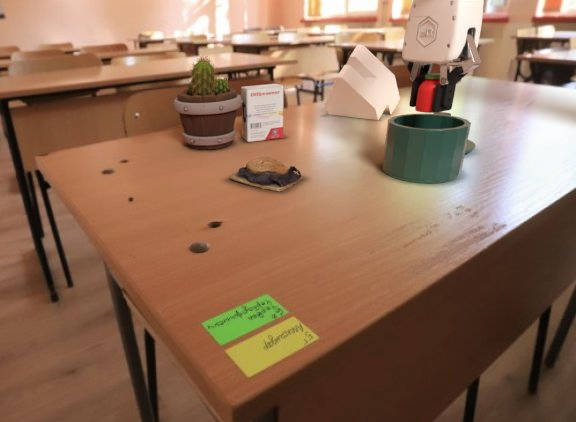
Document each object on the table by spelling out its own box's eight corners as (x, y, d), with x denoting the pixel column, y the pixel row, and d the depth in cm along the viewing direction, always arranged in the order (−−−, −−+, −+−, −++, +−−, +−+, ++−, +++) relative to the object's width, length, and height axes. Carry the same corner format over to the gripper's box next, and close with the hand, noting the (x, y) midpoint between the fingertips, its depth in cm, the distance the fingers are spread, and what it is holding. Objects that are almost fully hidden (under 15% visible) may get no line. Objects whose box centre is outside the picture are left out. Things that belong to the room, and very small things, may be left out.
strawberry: (440, 107, 68) (446, 72, 65) (445, 112, 64) (452, 75, 62) (413, 107, 69) (418, 72, 66) (417, 112, 65) (422, 76, 63)
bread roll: (226, 181, 73) (225, 161, 71) (255, 167, 78) (255, 148, 76) (279, 194, 66) (279, 171, 64) (306, 178, 71) (307, 157, 70)
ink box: (276, 133, 99) (277, 82, 94) (283, 138, 95) (284, 85, 90) (241, 137, 98) (240, 85, 93) (247, 142, 94) (246, 88, 89)
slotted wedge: (333, 124, 117) (314, 76, 105) (351, 95, 120) (334, 44, 107) (381, 131, 108) (366, 78, 95) (400, 99, 110) (388, 44, 98)
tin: (450, 161, 74) (459, 113, 70) (467, 185, 64) (479, 130, 60) (380, 159, 77) (385, 113, 74) (385, 181, 67) (392, 129, 64)
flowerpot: (187, 135, 103) (180, 49, 95) (248, 136, 99) (247, 45, 91) (167, 153, 90) (157, 55, 82) (236, 154, 86) (233, 51, 78)
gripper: (387, -17, 65) (374, 102, 73) (482, -30, 50) (454, 121, 58) (427, -19, 67) (410, 98, 74) (530, -32, 52) (496, 114, 60)
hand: (429, 107), depth 66 cm, fingers closed on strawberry, 4 cm apart
